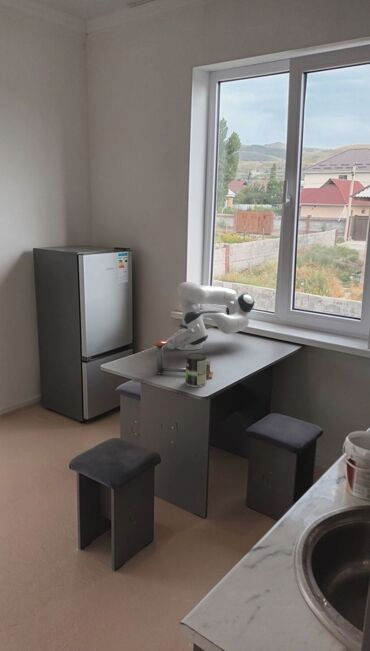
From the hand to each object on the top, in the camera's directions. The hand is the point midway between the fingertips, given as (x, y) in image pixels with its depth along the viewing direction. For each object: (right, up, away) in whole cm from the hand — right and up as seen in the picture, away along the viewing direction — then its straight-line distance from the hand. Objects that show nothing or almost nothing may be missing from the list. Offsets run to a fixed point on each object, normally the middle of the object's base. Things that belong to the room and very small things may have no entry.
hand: (182, 335), depth 257 cm
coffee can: (+7, -23, -15) cm, 28 cm away
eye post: (+12, -21, -5) cm, 24 cm away
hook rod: (-4, -20, -3) cm, 20 cm away
